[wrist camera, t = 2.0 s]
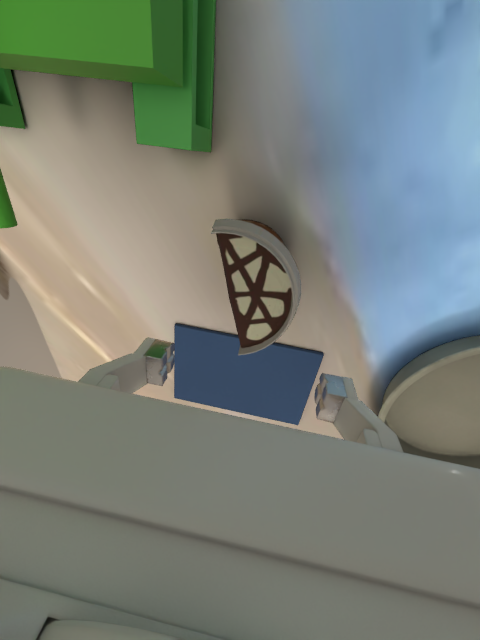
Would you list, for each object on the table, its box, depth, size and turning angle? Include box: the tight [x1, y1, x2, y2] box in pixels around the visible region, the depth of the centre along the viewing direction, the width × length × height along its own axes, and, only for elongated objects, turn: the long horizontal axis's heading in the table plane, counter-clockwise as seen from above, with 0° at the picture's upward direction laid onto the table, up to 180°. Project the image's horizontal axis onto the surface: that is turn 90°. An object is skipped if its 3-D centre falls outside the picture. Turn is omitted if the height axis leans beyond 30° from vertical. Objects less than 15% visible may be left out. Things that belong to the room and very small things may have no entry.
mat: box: [174, 323, 324, 425], centre depth 40 cm, size 20×14×1 cm
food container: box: [211, 219, 301, 355], centre depth 26 cm, size 12×6×10 cm, turn 10°
